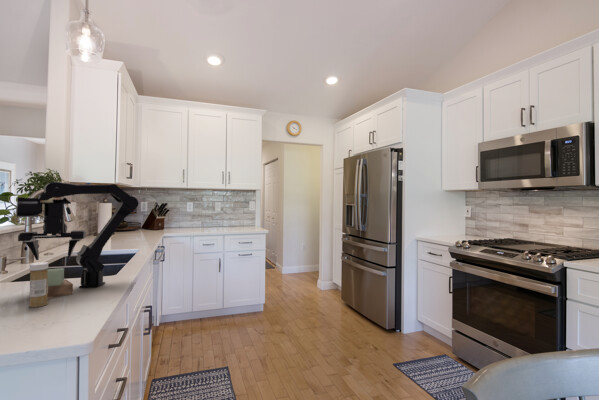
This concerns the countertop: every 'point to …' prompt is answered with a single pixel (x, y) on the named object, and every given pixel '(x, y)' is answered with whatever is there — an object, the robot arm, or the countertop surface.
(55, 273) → the sage green cube
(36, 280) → the sprinkles bottle
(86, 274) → the robot arm
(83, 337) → the countertop surface
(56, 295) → the walnut block
